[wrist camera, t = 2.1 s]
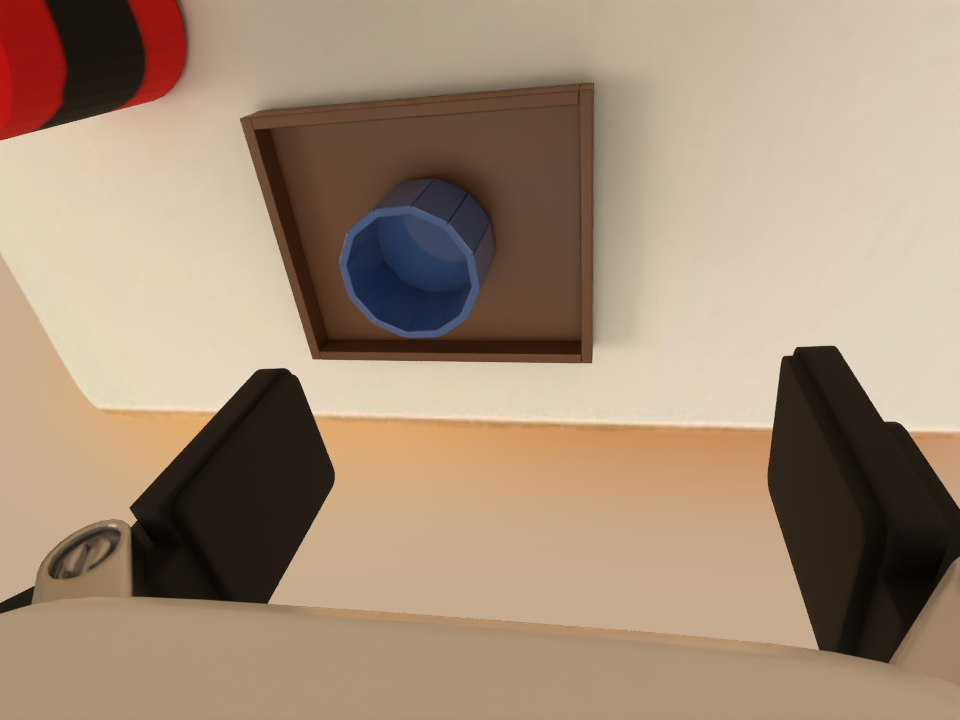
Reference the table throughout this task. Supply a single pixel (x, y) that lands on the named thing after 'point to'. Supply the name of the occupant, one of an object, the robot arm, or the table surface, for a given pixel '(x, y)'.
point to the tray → (467, 164)
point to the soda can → (84, 59)
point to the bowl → (418, 258)
